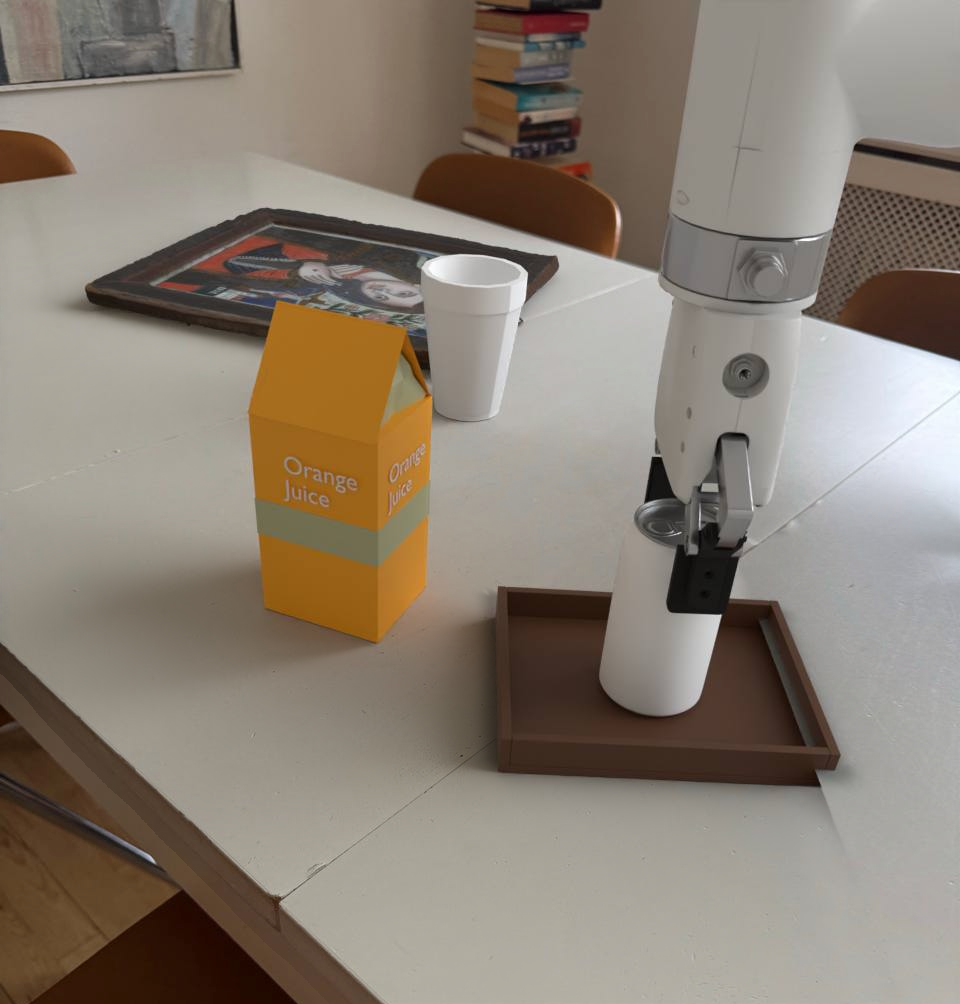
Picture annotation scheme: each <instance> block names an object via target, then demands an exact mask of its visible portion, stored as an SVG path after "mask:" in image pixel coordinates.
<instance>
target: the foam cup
mask: <svg viewBox="0 0 960 1004" xmlns="http://www.w3.org/2000/svg"><path fill="white" fill-rule="evenodd" d="M527 277H528V272H527V271H526V270H525V269H524V268H523V267H522V266H521V265H518V264H516V263H513V262H511V261H508V260H506V259H501V258H496V257H491V256H485V255H468V254H458V255H448V256H440V257H437V258H434V259H431V260H428V261H426V262H425V264H424V265H423V266H422V268H421V296H422V297H423V301H424V311H425V321H426V331H427V341H428V351H429V361H430V379H431V389H432V401H433V402H434V403H433V407H434V408H435V410H436V411H437V413H438V414H440V415H442V416H444V417H446V418H448V419H451V420H456V421H461V422H479V421H480V422H481V421H486V420H490V419H492V418H494V417H495V416H497V415H498V414H499V411H500V408H501V404H502V400H503V395H504V391H505V386H506V383H507V377H508V373H509V368H510V363H511V360H512V359H511V358H512V354H513V349H514V344H515V340H516V335H517V332H518V331H517V330H518V326H519V324H518V322H520V320H519V317H520V316H521V311H522V308H523V307H524V305H525V304H524V302H525V299H526V288H527ZM523 304H524V305H523ZM520 318H521V317H520Z"/></svg>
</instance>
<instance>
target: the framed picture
mask: <svg viewBox="0 0 960 1004" xmlns="http://www.w3.org/2000/svg"><path fill="white" fill-rule="evenodd" d="M458 254H468V255H485V256H491V257H496V258H501V259H506V260H508V261H511V262H513V263H516V264H518V265H521V266H522V267H523V268H524V269H525V270H526V271H527V272H528V277H527V288H526V299H525V302H524V304H523V306H524V305H526V303H527V302H528V301H529V300H530V299H531V298H532V297H533V296H534V295H535V294H536V293H537V291H539V290H540V289H541V288H542V287H544V286H545V285H546V284H547V283H548V282H549V281H550V280H551V279H552V278H553V277H554V276H555V274H556V273H557V272H558V271H559V268H560V262H559V257H558V255H557V254H554V255H547V254H539V253H532V252H527V251H522V250H518V249H513V248H509V247H503V246H499V245H497V246H496V245H490V244H485V243H482V242H479V241H478V242H477V241H473V240H467V239H465V238H460V237H452V236H447V235H441V234H436V233H432V232H423V231H418V230H412V229H405V228H401V227H394V226H388V225H382V224H375V223H364V222H362V221H358V220H354V219H353V220H350V219H347V218H343V217H339V216H332V215H325V214H320V213H315V212H306V211H301V210H295V209H287V208H271V207H267V206H266V207H259V208H257V209H253V210H252V211H250V212H247V213H245V214H239V215H237V216H236V217H234V218H233V219H225V220H224V221H221V222H220V223H217V224H216V225H213V226H210V227H206V228H204V229H203V230H200V231H199V232H198V231H197V232H196V233H195V232H194V234H191V235H189V236H187V237H186V238H183V239H180V240H178V241H176V242H173V243H172V244H170V245H168V246H166V247H163V248H161V249H159V250H156V251H154V252H152V253H151V254H149V255H147V256H145V257H141V258H139V259H136V260H134V262H132V263H129V264H126V265H124V266H122V267H119V268H118V269H116V270H114V271H113V270H112V271H111V272H108V273H107V274H103V275H102V276H101V277H98V278H95V279H94V280H93V281H91V282H88V283H87V284H86V285H85V286H84V291H85V295H86V298H87V300H88V302H89V304H93V305H96V306H99V307H104V308H108V309H113V310H118V311H123V312H127V313H131V314H132V313H133V314H137V315H142V316H147V317H152V318H157V319H162V320H167V321H173V322H177V323H181V324H185V325H186V326H187V327H190V326H198V327H202V328H207V329H212V330H217V331H222V332H228V333H235V334H242V335H247V336H252V337H257V338H262V339H267V336H268V332H269V328H270V324H271V320H272V316H273V313H274V309H275V305H276V301H277V300H278V301H283V302H288V303H292V304H297V305H302V306H306V307H311V308H316V309H320V310H325V311H330V312H334V313H339V314H344V315H348V316H353V317H358V318H362V319H367V320H372V321H376V322H381V323H386V324H390V325H395V326H400V327H404V328H407V334H408V337H409V339H410V342H411V345H412V347H413V350H414V353H415V356H416V358H417V361H418V364H419V366H420V369H421V370H424V371H428V372H429V371H430V361H429V351H428V341H427V331H426V321H425V311H424V301H423V297H422V296H421V268H422V266H423V265H424V264H425V262H426V261H428V260H431V259H434V258H437V257H440V256H448V255H458ZM524 322H525V321H524V320H523V319H522V317H519V322H518V325H523V324H524ZM430 372H431V371H430Z"/></svg>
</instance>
